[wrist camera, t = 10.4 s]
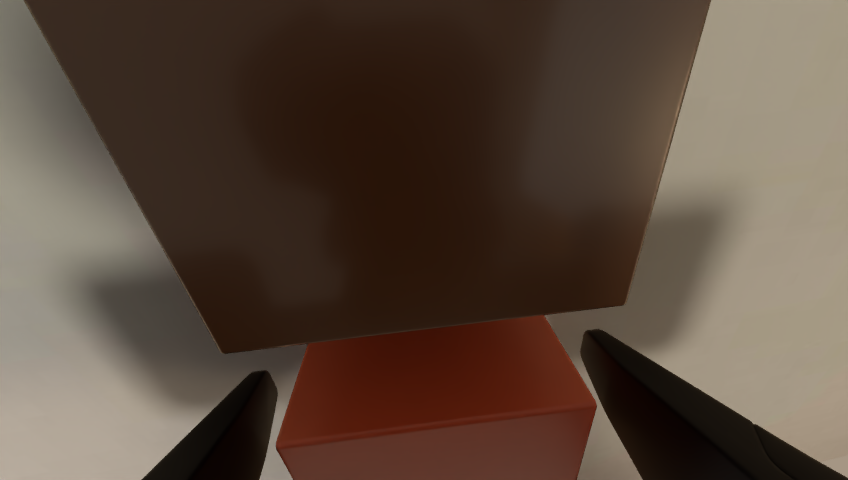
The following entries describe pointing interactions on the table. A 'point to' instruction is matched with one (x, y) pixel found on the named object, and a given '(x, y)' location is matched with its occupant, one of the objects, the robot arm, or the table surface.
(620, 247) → the walnut block
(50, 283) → the table surface
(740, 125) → the table surface
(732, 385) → the table surface
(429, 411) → the terracotta block
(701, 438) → the robot arm
